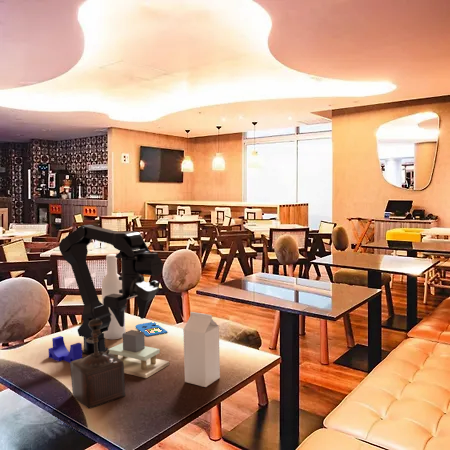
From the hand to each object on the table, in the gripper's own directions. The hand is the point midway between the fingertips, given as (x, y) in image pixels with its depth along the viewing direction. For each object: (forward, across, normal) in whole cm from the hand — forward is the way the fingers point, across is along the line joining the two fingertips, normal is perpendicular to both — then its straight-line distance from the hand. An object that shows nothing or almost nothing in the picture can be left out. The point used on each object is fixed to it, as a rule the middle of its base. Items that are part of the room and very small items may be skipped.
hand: (132, 322), depth 141 cm
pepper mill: (+12, -22, -6) cm, 26 cm away
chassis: (+12, -3, -3) cm, 13 cm away
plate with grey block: (+8, -3, -3) cm, 9 cm away
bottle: (+13, +15, +22) cm, 29 cm away
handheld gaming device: (+13, +27, +15) cm, 33 cm away
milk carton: (+12, -2, -27) cm, 30 cm away
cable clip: (+13, -9, +20) cm, 25 cm away
